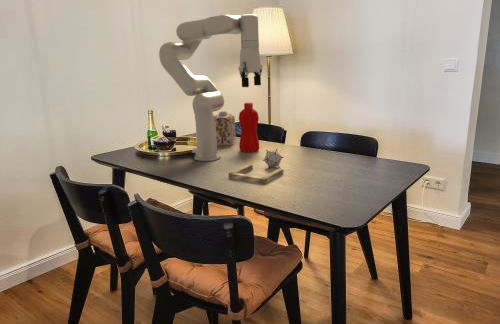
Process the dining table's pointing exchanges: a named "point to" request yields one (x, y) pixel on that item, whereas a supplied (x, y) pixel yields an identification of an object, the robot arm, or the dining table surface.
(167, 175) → the dining table surface
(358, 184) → the dining table surface
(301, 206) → the dining table surface
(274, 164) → the game die
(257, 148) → the water bottle
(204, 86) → the robot arm
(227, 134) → the decorative jar
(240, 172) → the u-shaped tan bracket
